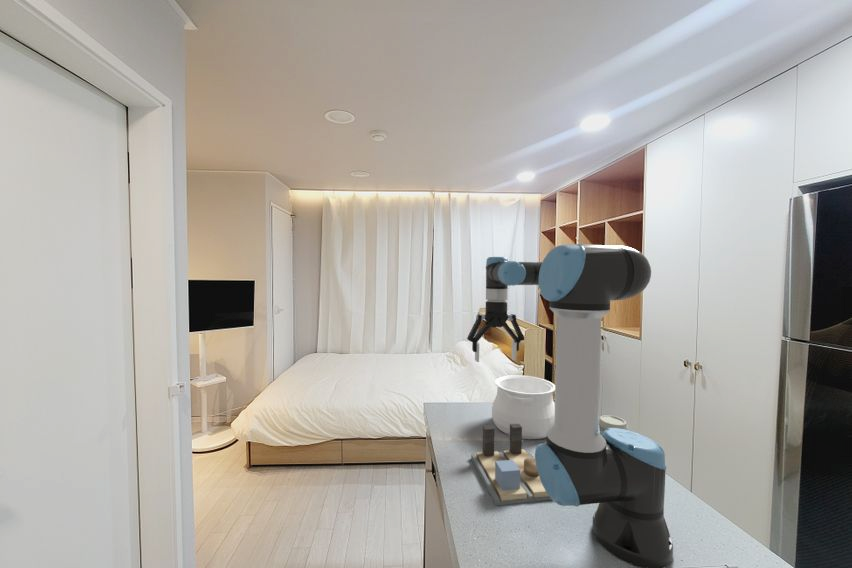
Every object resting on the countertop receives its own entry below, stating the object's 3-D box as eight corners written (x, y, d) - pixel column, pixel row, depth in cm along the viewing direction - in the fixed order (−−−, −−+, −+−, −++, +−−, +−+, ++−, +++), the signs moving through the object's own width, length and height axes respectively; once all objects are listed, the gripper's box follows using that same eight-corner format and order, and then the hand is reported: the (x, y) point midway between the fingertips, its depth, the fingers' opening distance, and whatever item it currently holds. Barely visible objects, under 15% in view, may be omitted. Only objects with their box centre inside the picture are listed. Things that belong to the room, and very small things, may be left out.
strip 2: (559, 495, 89) (559, 458, 89) (534, 497, 88) (534, 460, 88) (524, 453, 110) (524, 423, 110) (503, 455, 109) (503, 424, 109)
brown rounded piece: (542, 476, 95) (543, 465, 95) (527, 477, 95) (528, 467, 94) (535, 467, 100) (535, 457, 99) (521, 468, 99) (521, 458, 99)
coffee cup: (631, 465, 105) (632, 427, 104) (601, 462, 106) (602, 424, 106) (621, 451, 113) (622, 415, 113) (593, 448, 115) (594, 413, 115)
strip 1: (526, 498, 88) (527, 460, 88) (500, 501, 87) (501, 462, 86) (497, 455, 109) (497, 424, 108) (476, 457, 108) (476, 426, 107)
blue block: (519, 488, 90) (520, 470, 89) (501, 490, 89) (502, 471, 89) (512, 477, 95) (512, 459, 94) (495, 479, 94) (495, 461, 94)
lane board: (565, 498, 89) (565, 492, 89) (495, 505, 86) (496, 499, 86) (527, 454, 111) (527, 449, 111) (471, 458, 108) (471, 454, 108)
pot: (500, 409, 147) (500, 371, 147) (560, 420, 137) (561, 379, 136) (483, 434, 124) (484, 388, 124) (554, 450, 114) (555, 400, 113)
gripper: (525, 299, 126) (524, 357, 126) (459, 300, 122) (458, 358, 123) (534, 301, 118) (533, 362, 119) (464, 301, 115) (463, 364, 115)
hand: (495, 360), depth 121 cm, fingers open, 13 cm apart
